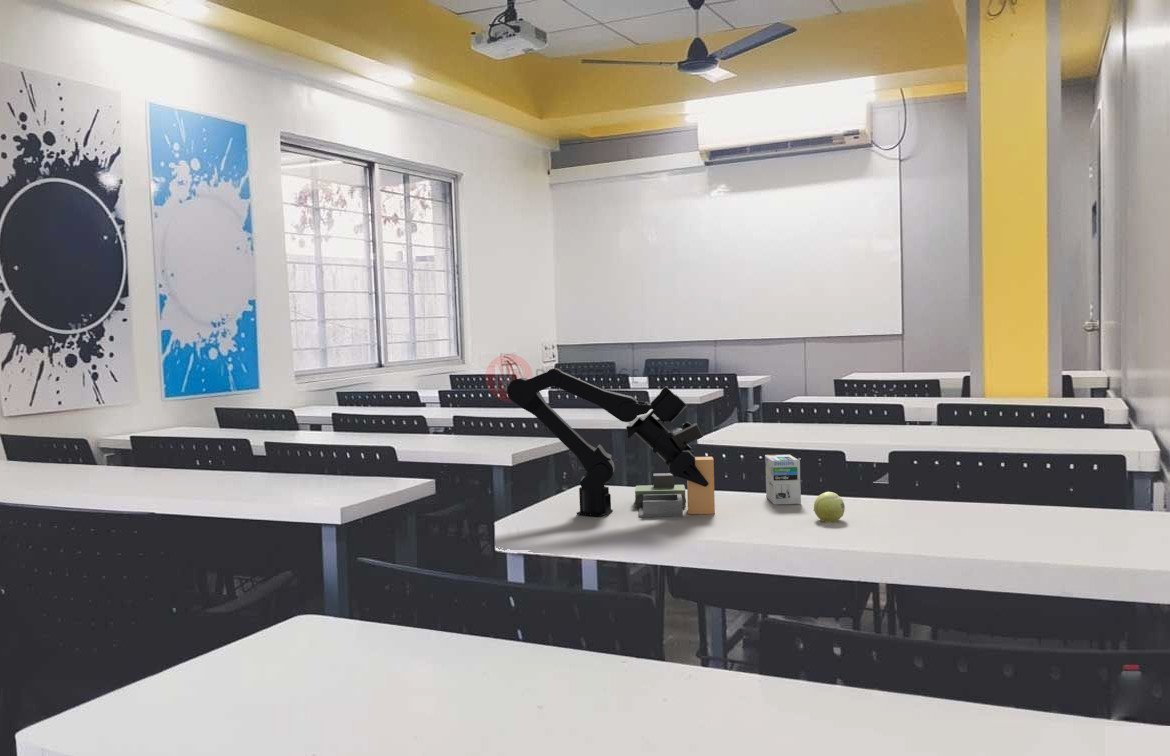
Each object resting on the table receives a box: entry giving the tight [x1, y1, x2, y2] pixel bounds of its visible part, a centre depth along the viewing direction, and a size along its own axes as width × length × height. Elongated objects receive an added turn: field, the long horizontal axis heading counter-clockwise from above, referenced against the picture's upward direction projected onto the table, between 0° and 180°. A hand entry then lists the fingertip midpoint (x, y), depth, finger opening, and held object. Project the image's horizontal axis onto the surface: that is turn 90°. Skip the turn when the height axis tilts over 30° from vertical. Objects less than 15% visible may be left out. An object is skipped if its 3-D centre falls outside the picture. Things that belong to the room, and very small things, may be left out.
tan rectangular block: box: [686, 456, 716, 515], centre depth 210 cm, size 6×5×12 cm
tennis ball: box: [813, 491, 846, 523], centre depth 196 cm, size 6×7×7 cm
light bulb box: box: [764, 454, 802, 506], centre depth 220 cm, size 11×7×11 cm, turn 179°
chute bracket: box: [638, 494, 684, 518], centre depth 211 cm, size 10×10×4 cm
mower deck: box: [634, 472, 687, 509], centre depth 221 cm, size 12×10×7 cm
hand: (706, 483), depth 210 cm, fingers closed on tan rectangular block, 5 cm apart
